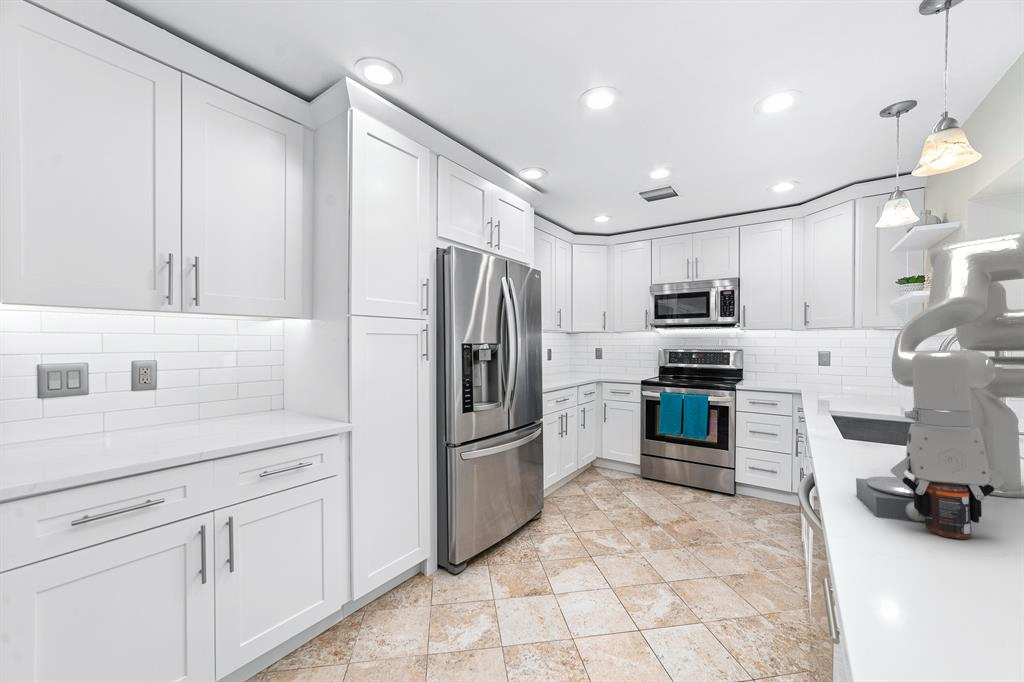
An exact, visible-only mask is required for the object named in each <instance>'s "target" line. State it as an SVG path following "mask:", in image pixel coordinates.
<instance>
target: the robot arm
mask: <svg viewBox="0 0 1024 682" xmlns="http://www.w3.org/2000/svg"><path fill="white" fill-rule="evenodd" d="M929 260H930V264H931V267H932V274H931V275H932V276H931V281H930V283H931V284H930V289H929V298H928V306H927V307H926V308H924V309H923V310H922V311H920V312H919V313H918V314H917V315H915V316H913V317H912V318H911V319H910V320H909V321H908V322H907V323H906V324H905V325H904V326H903V327H902V328H901V330H900V331H899V332H898V334H897V336H896V338H895V341H894V347H893V353H892V359H891V374H892V376H893V377H892V378H893V379H894V380H895V382H897V384H899V385H902V386H904V387H907V388H908V387H909V388H913V390H912V391H913V392H912V393H913V406H914V407H912V410H909V411H907V410H906V411H904V417H905V419H911V420H913V422H914V423H910V426H909V429H908V434H907V435H908V436H907V439H906V440H907V441H906V449H905V450H906V452H905V453H906V454H905V458H904V459H902V460H901V461H899V463H897V464H896V465H894V466H892V467H891V469H890V470H889V471H890V472H891V474H892V475H894V476H895V477H897V478H899V479H900V480H901V481H902V482H903V483H905V484H906V485H907V486H908V487H909V488H911V489H912V490H913V494H914V508H915V509H916V510H917V511H918V512H919V513H920V514H921V515H922V516H924V517H929V498H928V496H927V495H926V494H925V490H926V488H927V486H928V484H929V482H939V483H950V484H962V485H965V486H966V487H967V488H968V490H969V502H970V521H972V522H973V523H976V524H979V523H980V518H981V517H982V516H983V515H982V514H983V512H982V501H984V500H985V498H986V497H987V496H988V495H989V496H998V497H1007V498H1024V485H1022V470H1021V469H1022V468H1021V453H1020V434H1019V433H1020V431H1019V418H1018V417H1017V414H1016V412H1015V411H1013V410H1012V408H1011V407H1009V406H1008V405H1007V404H1006V403H1005V402H1003V401H1002V400H1001V398H1006V399H1007V398H1009V399H1010V398H1011V399H1013V398H1014V399H1015V398H1017V399H1024V356H1005V355H1001V356H998V355H997V356H991V355H990V356H988V355H987V354H986V353H983V352H1024V308H1017V309H1010V308H1009V307H1008V305H1007V292H1006V291H1007V290H1006V288H1005V286H1004V285H1003V284H1002V283H1001V282H1005V281H1013V280H1014V281H1015V280H1022V279H1023V280H1024V231H1020V232H1012V233H1005V234H999V235H993V236H987V237H985V236H984V237H979V238H978V237H977V238H973V239H965V240H961V241H955V242H951V243H947V244H944V245H940V246H938V247H936V248H934V249H933V250H932V251H931V252H930V256H929ZM952 329H955V332H956V333H955V334H956V339H957V342H958V344H959V346H960V347H961V348H963V349H965V350H963V349H961V350H958V349H957V350H954V349H953V350H951V349H950V350H945V349H944V350H943V349H942V350H941V349H940V350H936V349H935V350H917V347H918V346H919V345H920V344H921V343H923V342H924V341H925V340H927V339H929V338H931V337H933V336H935V335H938V334H941V333H943V332H947V331H949V330H952ZM906 471H907V472H908V473H909V474H911V475H913V476H914V478H913V479H912V480H913V481H912V480H911V478H909V477H908V476H907V475H906V474H905V472H906Z"/></svg>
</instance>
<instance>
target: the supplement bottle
mask: <svg viewBox="0 0 1024 682" xmlns="http://www.w3.org/2000/svg"><path fill="white" fill-rule="evenodd" d="M925 494H926V495H927V496H928V498H929V517H925V522H924V523H925V528H926V529H927V530H928V531H929V532H931V533H933V534H936V535H937V536H941V537H945V538H951V539H959V540H967V539H969V538H971V536H972V525H971V523H972V522H971V520H970V502H969V490H968V488H967V487H966V486H965V485H962V484H950V483H939V482H929V484H928V486H927V488H926V490H925Z"/></svg>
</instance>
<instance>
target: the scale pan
mask: <svg viewBox="0 0 1024 682" xmlns="http://www.w3.org/2000/svg"><path fill="white" fill-rule="evenodd" d="M866 479H867V485H868V486H870V487H872V488H874V489H877V490H880V491H883V492H887V493H892V494H897V495H902V496H909V497H914V494H913V490H912V489H911V488H909V487H908V486H907V485H906V484H905V483H903V482H902V481H901V480H900V479H899V478H897V477H896V476H895V477H894V476H871V477H868V478H866ZM910 479H911V478H910ZM911 480H912V481H913V479H911Z"/></svg>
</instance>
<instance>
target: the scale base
mask: <svg viewBox="0 0 1024 682" xmlns="http://www.w3.org/2000/svg"><path fill="white" fill-rule="evenodd" d="M867 479H868V478H860V477H859V478H857V477H856V478H855V483H856V484H855V487H856V497H858V498H859V500H860V501H861V502H862V503H863V504H864V505H865V506H866V507H867V508H868V509H869V510H870V511H871V513H872V514H874V515H875V516H876V518H885V519H886V518H887V519H893V520H902V519H903V521H910V520H912V521H911V522H913V521H914V522H919V521H922V522H921V523H925V517H924V516H922V515H921V514H920V513H919V512H918V511H917V510H916V509H915V508H914V497H909V496H902V495H897V494H892V493H887V492H883V491H880V490H877V489H874V488H872V487H870V486H868V485H867Z"/></svg>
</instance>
